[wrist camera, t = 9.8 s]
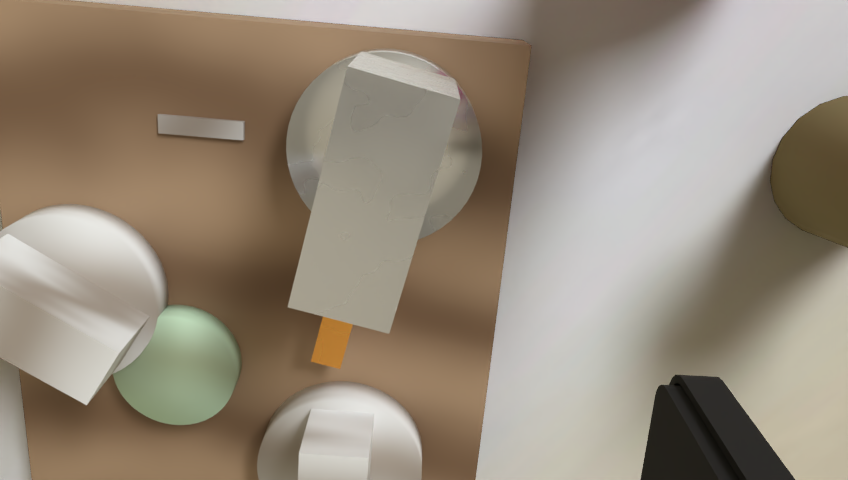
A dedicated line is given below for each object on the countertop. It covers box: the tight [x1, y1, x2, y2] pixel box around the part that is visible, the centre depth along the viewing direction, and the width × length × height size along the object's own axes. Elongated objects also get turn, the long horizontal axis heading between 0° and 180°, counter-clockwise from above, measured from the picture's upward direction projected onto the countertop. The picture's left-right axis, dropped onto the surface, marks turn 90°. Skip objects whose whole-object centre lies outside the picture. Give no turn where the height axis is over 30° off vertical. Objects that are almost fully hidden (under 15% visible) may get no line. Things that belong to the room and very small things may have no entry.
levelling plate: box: [0, 0, 531, 480], centre depth 29 cm, size 22×20×7 cm
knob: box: [286, 48, 482, 369], centre depth 25 cm, size 12×7×8 cm, turn 164°
